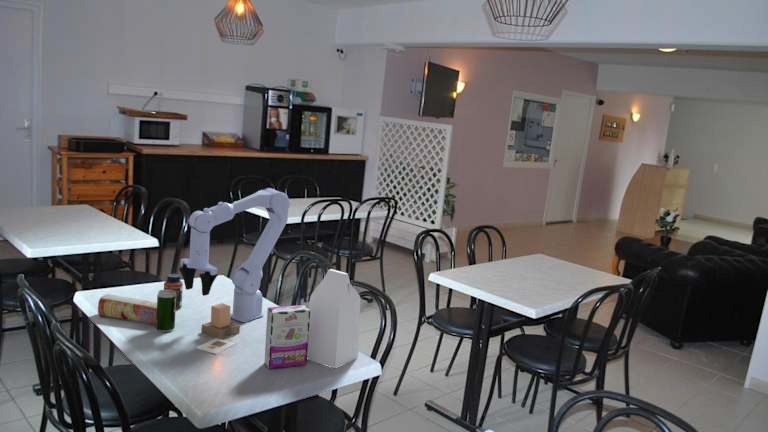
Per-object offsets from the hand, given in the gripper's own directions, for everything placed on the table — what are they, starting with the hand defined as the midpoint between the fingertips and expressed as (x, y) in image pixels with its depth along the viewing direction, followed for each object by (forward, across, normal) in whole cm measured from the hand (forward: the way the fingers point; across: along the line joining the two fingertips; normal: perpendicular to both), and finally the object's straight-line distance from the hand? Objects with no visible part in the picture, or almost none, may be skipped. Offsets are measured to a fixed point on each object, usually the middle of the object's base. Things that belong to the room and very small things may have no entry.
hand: (197, 291), depth 191 cm
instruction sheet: (+10, +18, -8) cm, 22 cm away
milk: (+11, +46, +10) cm, 48 cm away
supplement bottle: (+11, -16, +4) cm, 20 cm away
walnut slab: (+11, +11, 0) cm, 16 cm away
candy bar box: (+11, +40, -3) cm, 41 cm away
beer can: (+11, -2, -10) cm, 15 cm away
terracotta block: (+8, +11, 0) cm, 13 cm away
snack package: (+11, -16, -11) cm, 22 cm away
